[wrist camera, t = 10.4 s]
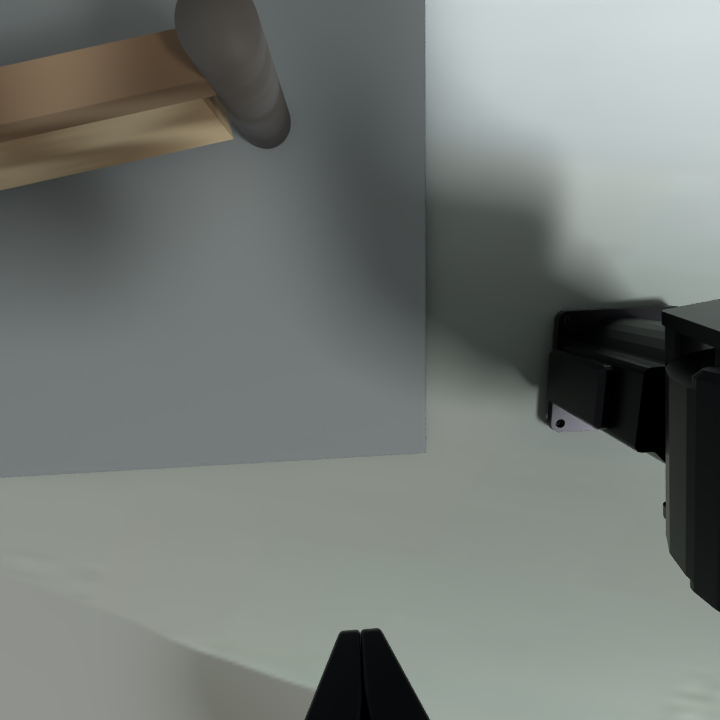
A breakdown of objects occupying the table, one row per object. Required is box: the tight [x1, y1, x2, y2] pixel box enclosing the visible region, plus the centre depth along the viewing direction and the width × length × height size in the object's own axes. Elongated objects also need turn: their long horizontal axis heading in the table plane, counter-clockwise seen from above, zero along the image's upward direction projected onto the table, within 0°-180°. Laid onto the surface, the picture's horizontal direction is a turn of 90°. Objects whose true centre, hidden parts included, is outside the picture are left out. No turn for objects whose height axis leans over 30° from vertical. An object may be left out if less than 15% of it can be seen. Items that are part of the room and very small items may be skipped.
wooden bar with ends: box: [0, 0, 291, 190], centre depth 13 cm, size 16×2×6 cm, turn 102°
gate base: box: [0, 0, 426, 478], centre depth 15 cm, size 24×21×7 cm
